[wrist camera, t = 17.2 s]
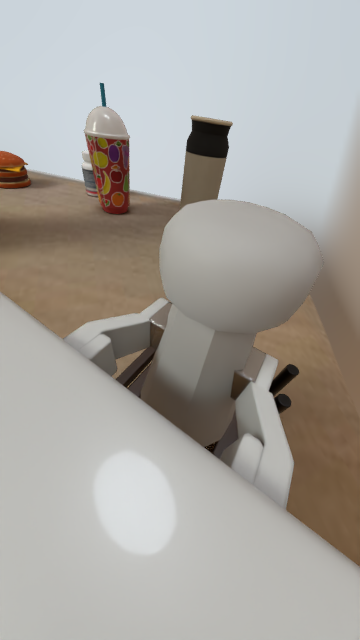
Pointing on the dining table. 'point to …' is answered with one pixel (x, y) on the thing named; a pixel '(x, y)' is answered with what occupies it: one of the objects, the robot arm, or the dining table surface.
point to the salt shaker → (222, 304)
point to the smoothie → (109, 156)
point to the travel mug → (204, 160)
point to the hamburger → (12, 171)
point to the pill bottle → (88, 175)
